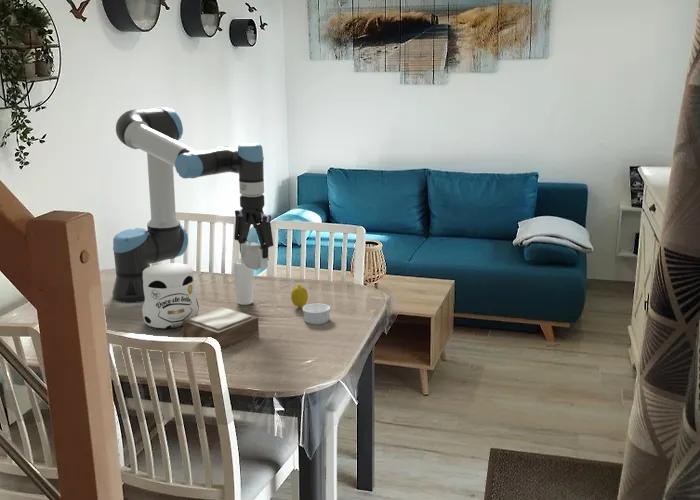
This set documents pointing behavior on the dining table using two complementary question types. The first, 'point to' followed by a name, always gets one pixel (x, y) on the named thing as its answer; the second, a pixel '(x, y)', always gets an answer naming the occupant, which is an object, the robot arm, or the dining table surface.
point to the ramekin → (316, 313)
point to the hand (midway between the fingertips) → (254, 265)
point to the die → (251, 256)
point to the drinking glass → (243, 282)
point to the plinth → (222, 326)
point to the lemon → (299, 296)
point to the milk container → (169, 295)
